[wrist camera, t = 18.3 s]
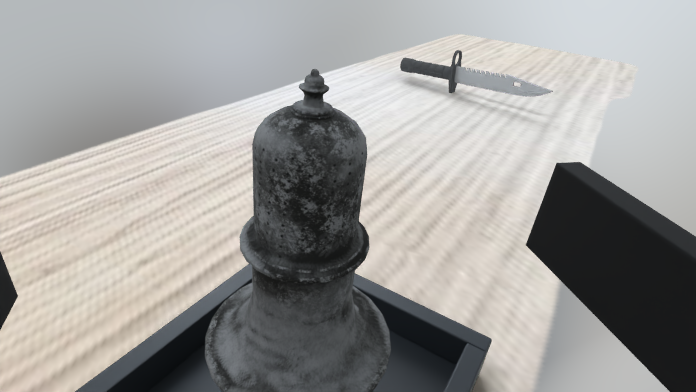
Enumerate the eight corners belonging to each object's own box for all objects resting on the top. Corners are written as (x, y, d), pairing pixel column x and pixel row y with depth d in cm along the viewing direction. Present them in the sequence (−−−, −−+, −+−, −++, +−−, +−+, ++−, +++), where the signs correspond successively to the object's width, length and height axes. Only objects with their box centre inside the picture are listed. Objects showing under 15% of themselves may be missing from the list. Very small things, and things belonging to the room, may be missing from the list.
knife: (550, 110, 49) (563, 65, 47) (544, 115, 47) (556, 68, 45) (406, 79, 59) (410, 41, 57) (396, 82, 57) (400, 42, 55)
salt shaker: (181, 468, 13) (109, 88, 7) (246, 325, 18) (235, 30, 12) (368, 507, 13) (457, 137, 7) (382, 350, 18) (441, 57, 12)
